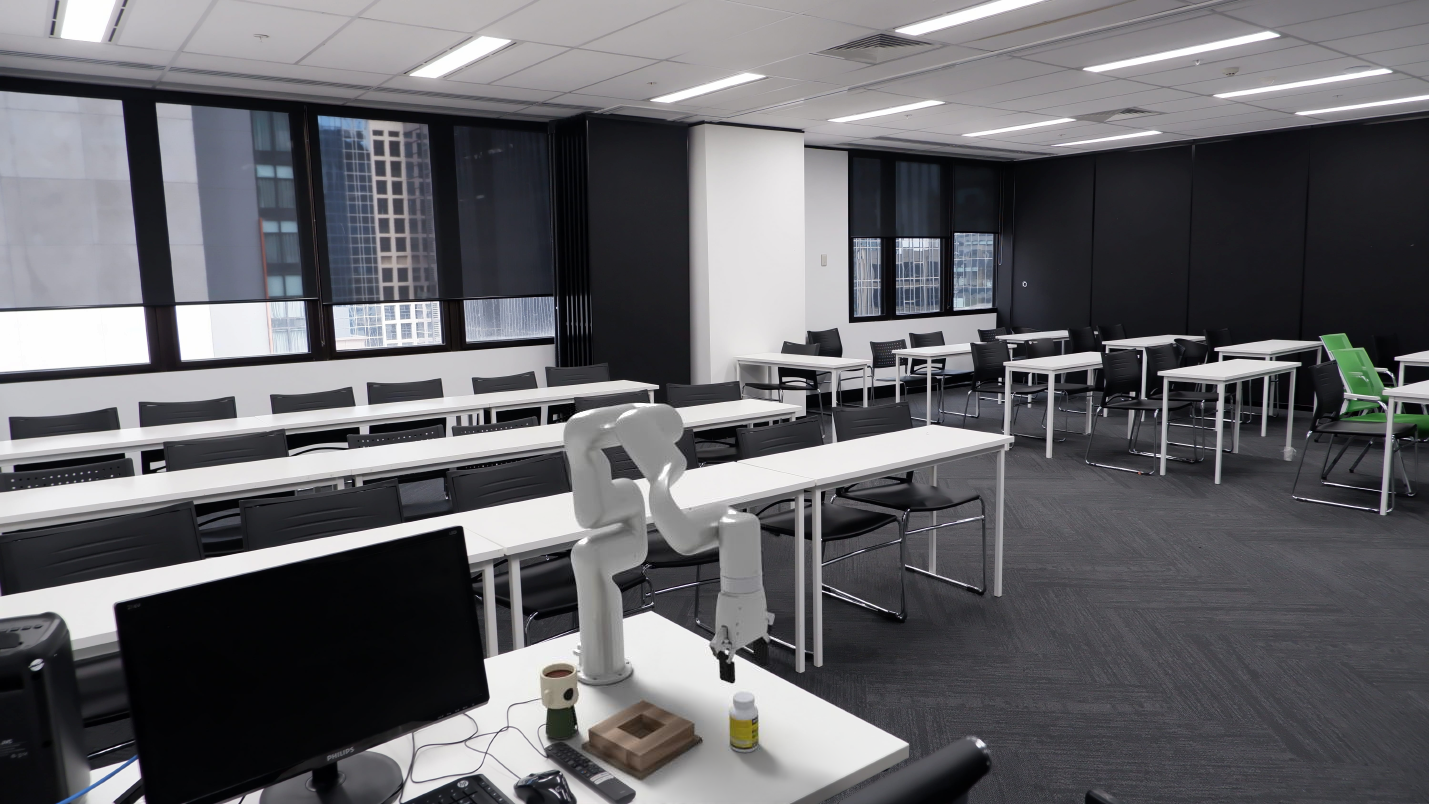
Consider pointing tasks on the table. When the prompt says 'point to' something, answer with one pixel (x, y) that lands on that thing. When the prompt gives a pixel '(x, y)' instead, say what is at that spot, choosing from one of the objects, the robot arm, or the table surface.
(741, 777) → the table surface
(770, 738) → the table surface
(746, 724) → the supplement bottle
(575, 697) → the character mug
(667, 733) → the bottle holder
